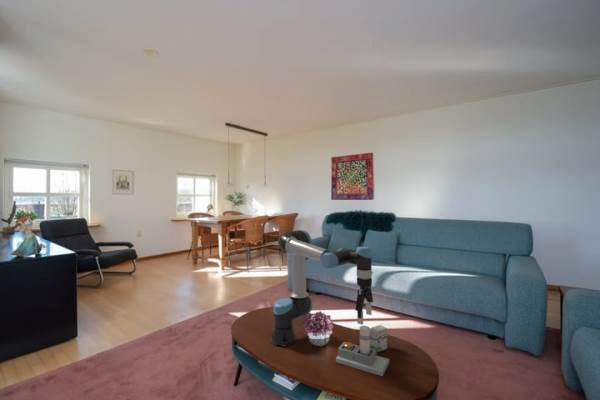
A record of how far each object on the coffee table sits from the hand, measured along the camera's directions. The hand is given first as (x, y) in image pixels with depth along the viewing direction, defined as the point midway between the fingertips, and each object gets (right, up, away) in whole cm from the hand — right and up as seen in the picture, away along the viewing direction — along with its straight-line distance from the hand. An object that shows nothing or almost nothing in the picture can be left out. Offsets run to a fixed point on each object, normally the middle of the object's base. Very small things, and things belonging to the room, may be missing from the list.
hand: (364, 319), depth 146 cm
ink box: (+11, -23, +14) cm, 29 cm away
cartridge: (0, -21, 0) cm, 21 cm away
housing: (-1, -23, +1) cm, 23 cm away
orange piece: (-7, -21, +5) cm, 22 cm away
